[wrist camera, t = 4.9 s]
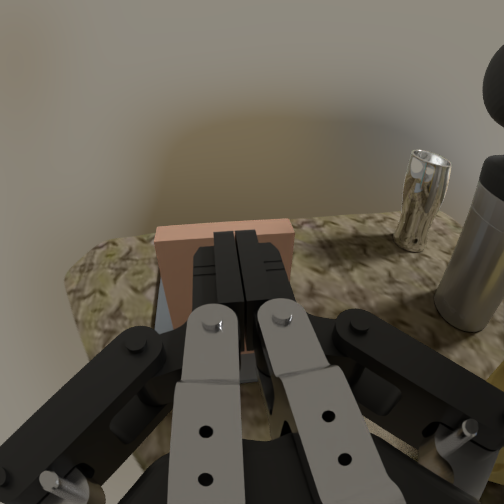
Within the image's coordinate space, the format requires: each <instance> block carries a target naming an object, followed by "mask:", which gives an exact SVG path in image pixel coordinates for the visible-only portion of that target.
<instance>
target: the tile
mask: <svg viewBox="0 0 504 504" xmlns="http://www.w3.org/2000/svg"><path fill="white" fill-rule="evenodd" d="M252 229H255V230H256V234H257V238H258V242H259V243H266V242H271V243H272V244H273V245H274V246H275V247H276V248H277V249H278V250H279V252H280V255H281V258H282V262H283V264H284V267H285V270H286V273H287V276H288V279H289V282H290V273H291V264H292V255H293V246H294V237H295V232H294V229H293V227H292V225H291V223H290V220H289V219H269V220H252V221H234V222H216V223H201V224H186V225H172V226H160V227H157V230H156V234H155V239H154V245H155V250H156V255H157V260H158V265H159V269H160V274H161V279H162V283H163V288H164V292H165V296H166V301H167V305H168V309H169V313H170V317H171V321H172V325H173V329H176V328H178V327H180V326H181V325H183V324H184V323H185V322H186V321H187V320H188V317H189V315H190V314H191V313H192V289H193V256H194V254H195V253H196V251H197V250H198V248H199V247H205V246H214V236H213V232H221V231H233V232H234V238H235V231H236V230H252ZM249 353H254V350H253V351H247V350H246V343H245V351H244V352H241V354H249Z"/></svg>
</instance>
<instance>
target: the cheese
mask: <svg viewBox="0 0 504 504" xmlns="http://www.w3.org/2000/svg"><path fill="white" fill-rule="evenodd" d="M486 381H487V382H488V383H490V384H492V385H493V386H495V387H497V388H498V389H500V390H502V391H503V392H504V361H503V362H502V363H501V364H500V365H499V366H498V367H497V369H496V370H495V371H494V372H493V373H492V374H491V375H490V377H489V378H488V379H487V380H486ZM488 481H491V482H495V483H498V484H501V485H504V447H503V448H501V450H500V451H499V454H498V457H497V459H496V462H495V464H494V467H493V470H492V472H491V474H490V477H489V479H488Z"/></svg>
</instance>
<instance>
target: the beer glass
mask: <svg viewBox="0 0 504 504" xmlns="http://www.w3.org/2000/svg"><path fill="white" fill-rule="evenodd" d="M451 167H452V163H451V162H450V161H449V160H447V159H446V158H444V157H442V156H440V155H438V154H435V153H432V152H428V151H424V150H413V151H412V154H411V157H410V161H409V164H408V167H407V171H406V176H405V180H404V187H403V197H402V210H401V217H400V221H399V223H398V226H397V228H396V230H395V231H394V234H393V240H394V242H395V243H396V244H397V245H398V246H399V247H401V248H403V249H405V250H407V251H410V252H421V251H423V250H424V249H425V248H426V244H427V237H428V232H429V229H430V226H431V224H432V222H433V220H434V218H435V216H436V214H437V212H438V211H439V209H440V207H441V204H442V202H443V200H444V197H445V194H446V191H447V187H448V183H449V178H450V172H451Z"/></svg>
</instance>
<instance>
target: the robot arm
mask: <svg viewBox="0 0 504 504" xmlns="http://www.w3.org/2000/svg"><path fill="white" fill-rule="evenodd" d="M483 100H484V104H485V106H486V109H487V111H488V113H489V114H490V116H491V117H492V118H493V119H494V121H496V122H497V123H498V124H499V125H501V126H502V127H504V45H503V46H502V47H501V48H500V49H499V50H498V51H497V52H496V53H495V55H494V56H493V58H492V59H491V61H490V63H489V65H488V67H487V70H486V73H485V76H484V81H483ZM213 236H214V246H205V247H199V248H198V250H197V251H196V253H195V254H194V256H193V289H192V313H191V314H190V315H189V317H188V320H187V321H186V322H185V323H184V324H183V325H181V326H180V327H178V328H176V329H174V330H171V331H168V332H165V333H162V334H159V333H158V332H157V331H155V330H154V329H152V328H150V327H146V326H135V327H131V328H129V329H127V330H125V331H123V332H122V333H121V334H119V335H118V336H117V337H116V338H115V339H114V340H113V341H112V342H111V343H110V344H108V345H107V346H106V347H105V348H104V349H103V350H102V351H101V352H100V353H99V354H97V355H96V356H95V357H94V358H93V359H92V360H91V361H90V362H89V363H88V364H87V365H85V366H84V368H82V369H81V370H80V371H79V372H78V373H77V374H76V375H75V376H74V377H73V378H71V379H70V380H69V381H68V382H67V383H66V384H65V385H64V386H63V387H62V388H61V389H60V390H59V391H58V392H56V394H54V395H53V396H52V397H51V398H50V399H49V400H48V401H47V402H46V403H45V404H44V405H43V406H42V407H41V408H40V409H39V410H37V412H35V413H34V414H33V415H32V416H31V417H30V418H29V419H28V420H27V421H26V422H25V423H24V424H23V425H22V426H21V427H20V428H19V429H18V430H17V431H16V432H15V433H14V434H13V435H12V436H11V437H10V438H9V439H7V440H6V441H5V442H4V443H3V444H2V445H1V446H0V502H2V503H4V504H105V503H106V502H105V501H106V499H105V494H104V491H103V489H102V488H101V486H102V485H103V484H104V483H105V481H106V480H108V478H109V477H110V476H111V475H112V474H113V473H114V472H115V471H116V470H117V469H118V468H119V467H120V466H121V465H122V464H123V463H124V462H125V460H126V459H127V458H128V457H129V456H130V455H131V454H132V453H133V452H134V451H135V450H136V449H137V447H138V446H139V445H140V444H141V443H142V442H143V441H144V440H145V439H146V438H147V436H148V435H149V434H150V433H151V432H152V431H153V430H154V429H155V428H156V426H157V425H158V424H159V423H160V422H161V421H162V420H163V419H164V418H165V416H166V415H167V414H168V413H169V412H170V411H171V410H172V408H173V416H172V429H171V442H170V453H168V454H166V455H164V456H162V457H161V458H159V459H158V460H156V461H155V462H154V463H153V464H152V465H150V466H149V467H148V468H147V469H146V471H145V472H144V473H143V474H142V475H141V477H140V478H139V479H138V480H137V481H136V483H135V484H134V485H133V486H132V487H131V488H130V490H129V491H128V492H127V493H126V494H125V496H124V497H123V498H122V499H121V500H120V501H119V503H118V504H481V502H480V501H479V499H480V497H481V495H482V493H483V491H484V488H485V486H486V484H487V482H488V479H489V477H490V474H491V472H492V470H493V467H494V464H495V462H496V459H497V457H498V454H499V451H500V450H501V448H503V447H504V392H503V391H502V390H500V389H498V388H497V387H495V386H493V385H492V384H490V383H488V382H487V381H485V380H483V379H482V378H480V377H478V376H476V375H475V374H473V373H471V372H470V371H468V370H466V369H465V368H463V367H461V366H460V365H458V364H456V363H455V362H453V361H451V360H450V359H448V358H446V357H444V356H443V355H441V354H439V353H438V352H436V351H434V350H433V349H431V348H429V347H428V346H426V345H424V344H423V343H421V342H419V341H417V340H416V339H414V338H412V337H411V336H409V335H407V334H406V333H404V332H402V331H400V330H399V329H397V328H395V327H394V326H392V325H390V324H389V323H387V322H385V321H383V320H382V319H380V318H378V317H377V316H375V315H373V314H371V313H370V312H368V311H365V310H362V309H348V310H345V311H343V312H342V313H340V314H339V316H338V317H337V319H329V318H322V317H316V316H313V315H311V314H308V313H307V312H306V311H305V310H304V308H303V307H302V306H301V305H300V304H299V303H297V302H296V300H295V297H294V294H293V291H292V288H291V285H290V282H289V279H288V276H287V273H286V270H285V267H284V264H283V262H282V258H281V255H280V252H279V250H278V249H277V248H276V247H275V246H274V245H273V244H272V243H271V242H266V243H259V242H258V238H257V234H256V230H255V229H252V230H236V231H235V238H234V232H233V231H221V232H213ZM503 298H504V155H494V156H490V157H488V158H487V159H486V160H485V161H484V163H483V167H482V170H481V174H480V177H479V181H478V184H477V188H476V191H475V194H474V197H473V200H472V204H471V207H470V210H469V213H468V216H467V219H466V221H465V224H464V227H463V229H462V232H461V235H460V237H459V240H458V242H457V245H456V247H455V250H454V252H453V255H452V257H451V259H450V262H449V264H448V266H447V269H446V271H445V273H444V275H443V278H442V280H441V282H440V284H439V286H438V288H437V291H436V293H435V298H434V300H435V305H436V307H437V309H438V311H439V313H440V314H441V316H442V317H443V318H444V319H445V320H446V321H447V322H449V323H450V324H451V325H453V326H454V327H456V328H458V329H461V330H463V331H468V332H477V331H480V330H482V329H484V328H485V326H486V325H487V324H488V322H489V321H490V319H491V318H492V316H493V314H494V313H495V311H496V310H497V308H498V306H499V305H500V303H501V302H502V300H503ZM245 343H246V350H247V351H253V350H254V353H255V359H256V367H255V370H256V375H257V379H258V382H259V386H260V390H261V394H262V398H263V401H264V405H265V409H266V412H267V416H268V421H269V428H270V436H271V441H255V440H247V439H242V427H241V403H240V378H239V372H240V370H241V352H244V351H245ZM362 415H363V416H365V417H366V418H368V419H369V420H371V421H372V422H374V423H375V424H377V425H379V426H380V427H382V428H383V429H385V430H386V431H388V432H390V433H391V434H393V435H394V436H396V437H398V438H399V439H401V440H402V441H404V442H406V443H407V444H409V445H411V446H412V447H414V448H416V449H417V450H418V457H419V459H418V462H416V461H415V460H413V459H412V458H410V457H409V456H407V455H406V454H404V453H403V452H401V451H400V450H398V449H397V448H395V447H394V446H392V445H391V444H389V443H388V442H386V441H385V440H383V439H382V438H380V437H378V436H376V435H374V434H372V433H370V432H369V430H368V428H367V425H366V423H365V421H364V419H363V416H362Z"/></svg>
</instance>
